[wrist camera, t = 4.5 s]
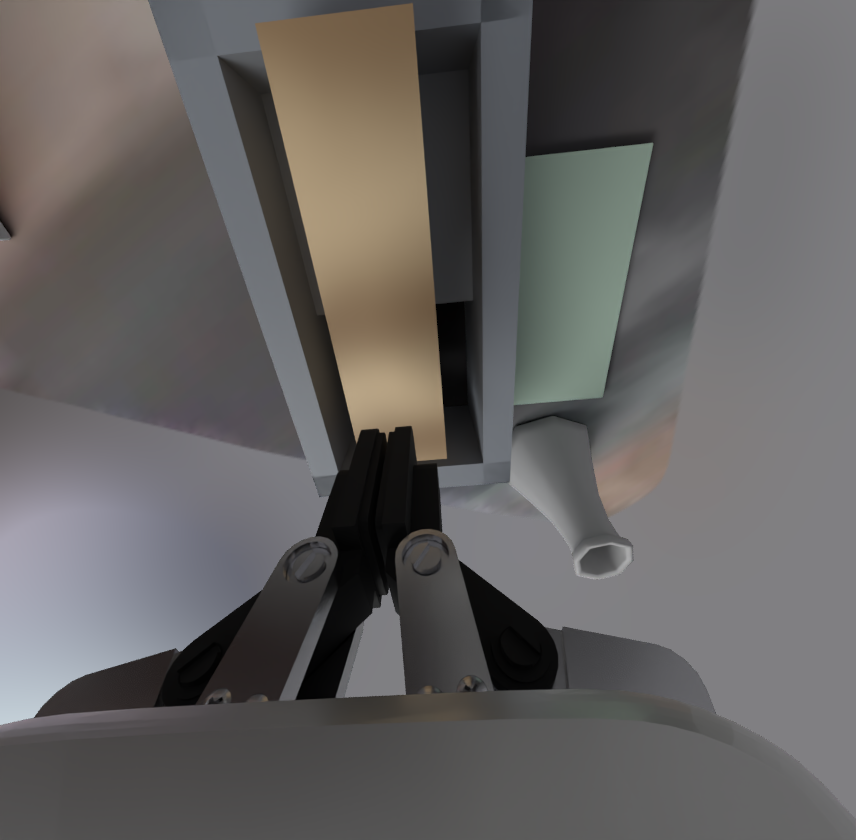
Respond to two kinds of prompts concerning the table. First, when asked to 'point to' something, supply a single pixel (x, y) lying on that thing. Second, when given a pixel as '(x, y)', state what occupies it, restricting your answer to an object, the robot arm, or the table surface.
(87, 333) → the table surface
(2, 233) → the skincare box
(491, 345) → the cradle
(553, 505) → the flask
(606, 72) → the table surface
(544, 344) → the mat
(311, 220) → the oak bar
